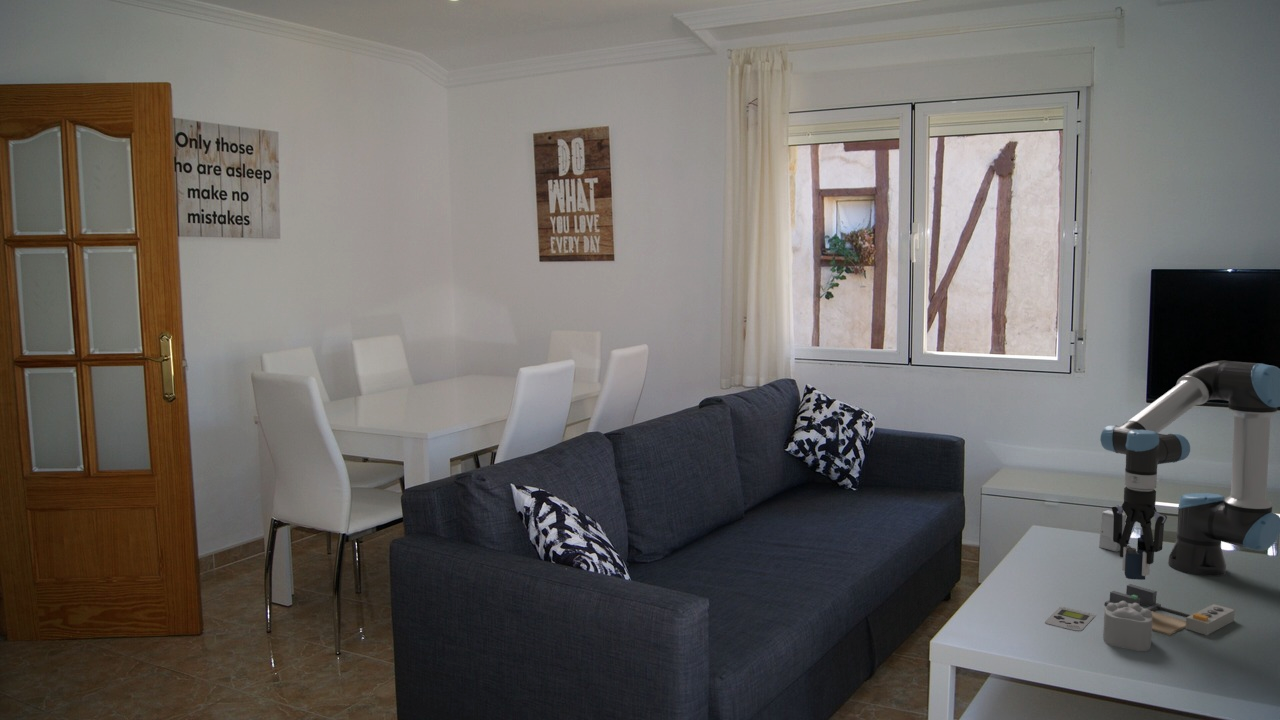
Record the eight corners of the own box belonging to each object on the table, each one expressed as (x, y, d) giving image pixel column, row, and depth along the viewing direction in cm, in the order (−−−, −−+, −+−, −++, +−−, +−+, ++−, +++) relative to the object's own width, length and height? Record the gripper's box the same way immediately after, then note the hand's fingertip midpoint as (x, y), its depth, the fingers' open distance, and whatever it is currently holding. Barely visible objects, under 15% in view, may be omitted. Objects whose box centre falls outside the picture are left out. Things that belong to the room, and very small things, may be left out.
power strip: (1212, 614, 239) (1213, 601, 239) (1233, 620, 235) (1234, 606, 235) (1185, 628, 230) (1186, 614, 229) (1207, 635, 226) (1208, 620, 225)
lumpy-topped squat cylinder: (1101, 644, 220) (1103, 609, 219) (1104, 626, 231) (1106, 593, 230) (1150, 653, 215) (1153, 618, 214) (1151, 634, 226) (1153, 601, 225)
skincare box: (1098, 547, 297) (1100, 511, 296) (1105, 545, 300) (1107, 509, 298) (1117, 552, 292) (1119, 515, 291) (1124, 549, 295) (1126, 513, 293)
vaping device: (1147, 580, 243) (1149, 536, 241) (1126, 579, 244) (1128, 536, 242) (1144, 577, 245) (1146, 534, 244) (1123, 575, 246) (1125, 533, 245)
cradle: (1124, 596, 252) (1125, 580, 252) (1205, 619, 235) (1206, 602, 235) (1104, 605, 246) (1105, 588, 245) (1186, 629, 229) (1187, 612, 228)
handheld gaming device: (1043, 621, 233) (1060, 605, 244) (1043, 624, 233) (1060, 608, 244) (1080, 630, 227) (1096, 613, 238) (1080, 633, 227) (1095, 616, 238)
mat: (1142, 610, 242) (1142, 608, 242) (1190, 624, 232) (1190, 622, 232) (1120, 620, 235) (1120, 618, 235) (1168, 635, 225) (1169, 633, 225)
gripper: (1100, 483, 246) (1096, 566, 249) (1168, 496, 232) (1163, 584, 235) (1114, 479, 251) (1110, 561, 253) (1181, 492, 237) (1176, 578, 239)
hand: (1135, 572), depth 244 cm, fingers closed on vaping device, 4 cm apart
